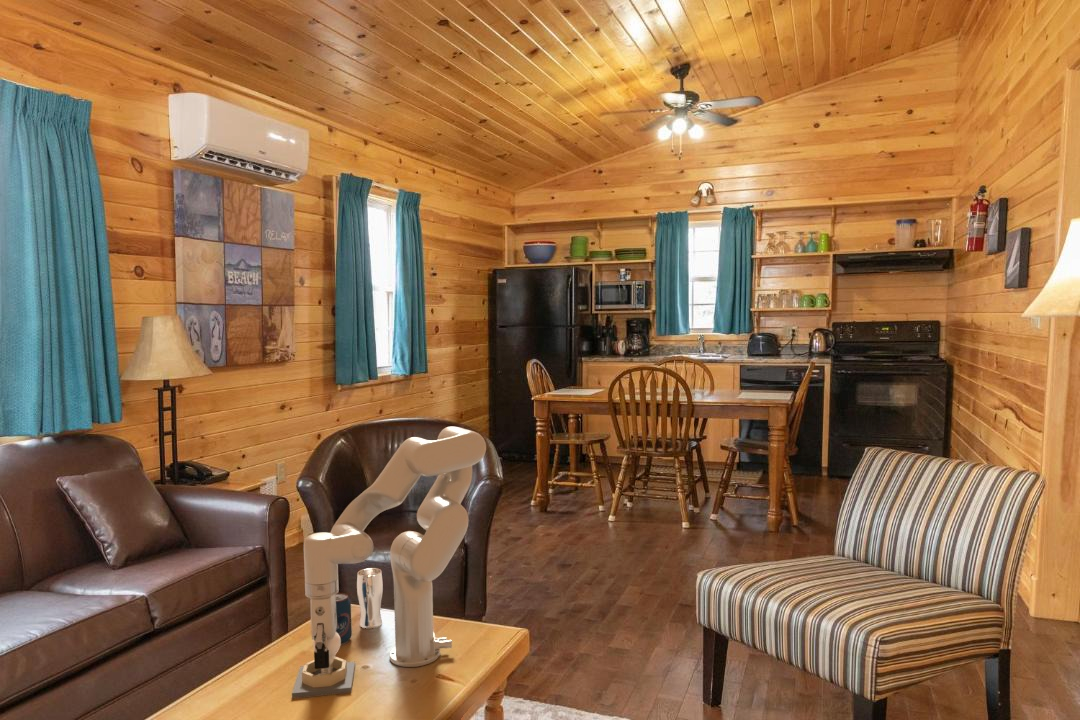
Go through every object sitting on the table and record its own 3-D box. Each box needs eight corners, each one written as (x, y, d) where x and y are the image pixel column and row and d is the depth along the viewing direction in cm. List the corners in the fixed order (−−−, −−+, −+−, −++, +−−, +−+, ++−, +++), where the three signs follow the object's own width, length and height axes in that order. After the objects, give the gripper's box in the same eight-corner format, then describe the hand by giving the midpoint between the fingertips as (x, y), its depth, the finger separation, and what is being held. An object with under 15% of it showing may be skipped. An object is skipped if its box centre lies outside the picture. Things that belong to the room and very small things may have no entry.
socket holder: (355, 666, 183) (354, 651, 182) (351, 692, 170) (350, 676, 170) (300, 671, 180) (299, 656, 180) (292, 698, 168) (291, 682, 167)
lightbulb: (332, 683, 172) (333, 636, 171) (307, 680, 173) (308, 633, 172) (345, 671, 178) (345, 626, 177) (320, 668, 179) (321, 623, 179)
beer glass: (362, 619, 211) (360, 567, 210) (386, 619, 210) (384, 567, 209) (355, 629, 204) (353, 576, 203) (380, 629, 203) (378, 576, 203)
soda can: (328, 649, 192) (326, 603, 191) (322, 639, 198) (320, 595, 197) (354, 643, 196) (353, 598, 195) (347, 633, 202) (346, 590, 201)
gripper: (334, 599, 166) (337, 675, 167) (341, 572, 183) (344, 641, 184) (299, 602, 164) (302, 678, 165) (310, 575, 181) (312, 644, 183)
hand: (324, 658), depth 175 cm, fingers open, 8 cm apart
